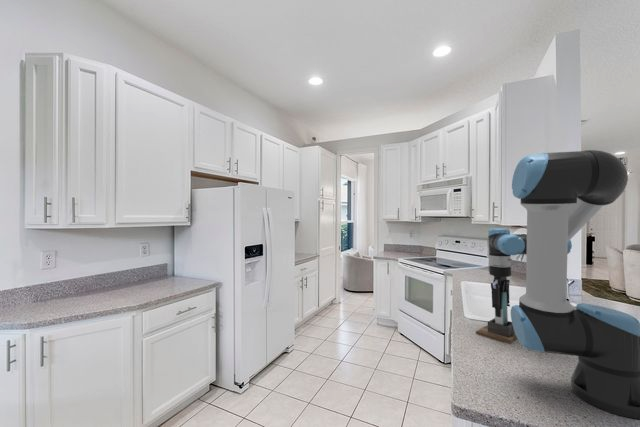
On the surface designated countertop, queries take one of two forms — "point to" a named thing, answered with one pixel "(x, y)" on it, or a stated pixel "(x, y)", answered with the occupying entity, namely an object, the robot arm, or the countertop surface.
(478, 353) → the countertop surface
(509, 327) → the bracket board
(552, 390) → the countertop surface
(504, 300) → the dowel
